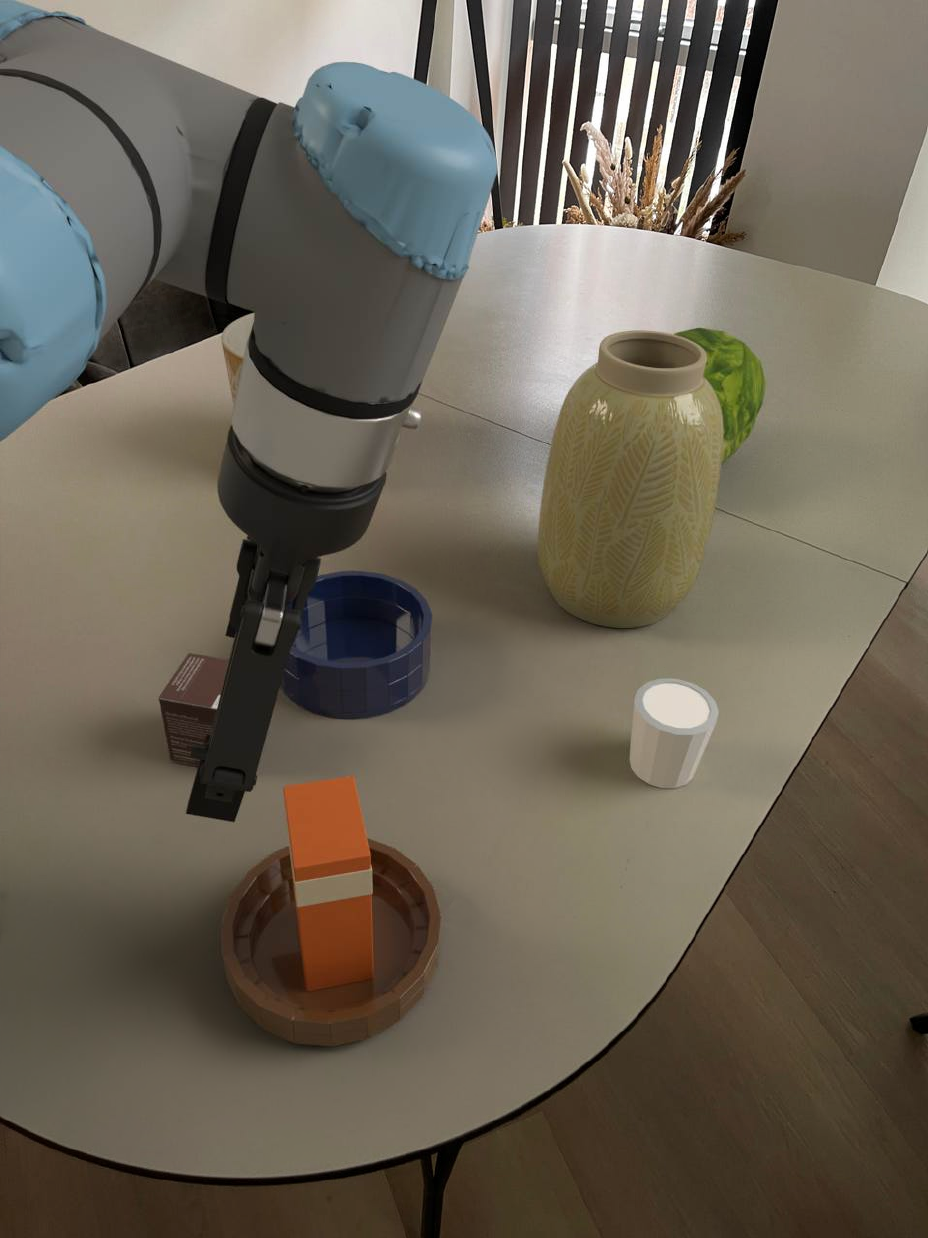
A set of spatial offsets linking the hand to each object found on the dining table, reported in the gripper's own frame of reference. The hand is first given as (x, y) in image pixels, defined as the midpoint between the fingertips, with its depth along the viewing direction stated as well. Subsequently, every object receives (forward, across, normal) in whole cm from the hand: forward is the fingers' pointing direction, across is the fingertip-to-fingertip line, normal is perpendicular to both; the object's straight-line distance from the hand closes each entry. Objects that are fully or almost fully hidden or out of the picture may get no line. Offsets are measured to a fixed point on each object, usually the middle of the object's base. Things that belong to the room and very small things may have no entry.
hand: (230, 717), depth 58 cm
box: (+21, +13, -1) cm, 25 cm away
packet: (+14, -6, -11) cm, 19 cm away
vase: (+13, +37, -38) cm, 54 cm away
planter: (+27, +64, -5) cm, 70 cm away
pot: (+19, +24, -11) cm, 33 cm away
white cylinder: (+10, +12, -37) cm, 40 cm away
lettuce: (+13, +64, -50) cm, 82 cm away
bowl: (+15, -6, -11) cm, 20 cm away
